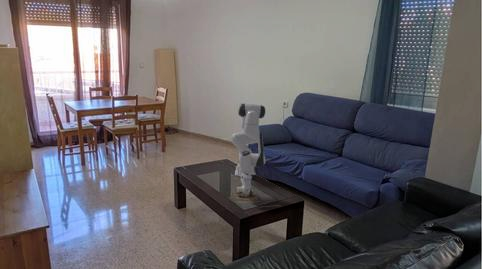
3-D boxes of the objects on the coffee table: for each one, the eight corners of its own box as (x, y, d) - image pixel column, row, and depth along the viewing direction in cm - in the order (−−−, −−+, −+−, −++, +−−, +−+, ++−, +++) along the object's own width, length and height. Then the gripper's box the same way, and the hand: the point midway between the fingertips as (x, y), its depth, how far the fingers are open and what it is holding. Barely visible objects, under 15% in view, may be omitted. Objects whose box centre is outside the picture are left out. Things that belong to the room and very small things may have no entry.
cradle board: (232, 192, 258) (232, 188, 258) (253, 191, 261) (253, 187, 261) (237, 204, 237) (237, 200, 237) (259, 203, 240) (259, 199, 239)
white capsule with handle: (250, 193, 255) (250, 184, 254) (252, 196, 249) (252, 187, 248) (236, 193, 253) (236, 185, 252) (238, 197, 248) (238, 188, 246)
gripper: (238, 168, 257) (238, 185, 260) (243, 178, 237) (243, 196, 240) (246, 168, 258) (246, 185, 261) (252, 177, 238) (252, 195, 242)
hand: (245, 190), depth 251 cm, fingers closed on white capsule with handle, 6 cm apart
